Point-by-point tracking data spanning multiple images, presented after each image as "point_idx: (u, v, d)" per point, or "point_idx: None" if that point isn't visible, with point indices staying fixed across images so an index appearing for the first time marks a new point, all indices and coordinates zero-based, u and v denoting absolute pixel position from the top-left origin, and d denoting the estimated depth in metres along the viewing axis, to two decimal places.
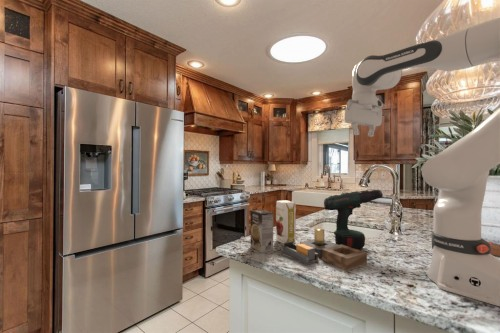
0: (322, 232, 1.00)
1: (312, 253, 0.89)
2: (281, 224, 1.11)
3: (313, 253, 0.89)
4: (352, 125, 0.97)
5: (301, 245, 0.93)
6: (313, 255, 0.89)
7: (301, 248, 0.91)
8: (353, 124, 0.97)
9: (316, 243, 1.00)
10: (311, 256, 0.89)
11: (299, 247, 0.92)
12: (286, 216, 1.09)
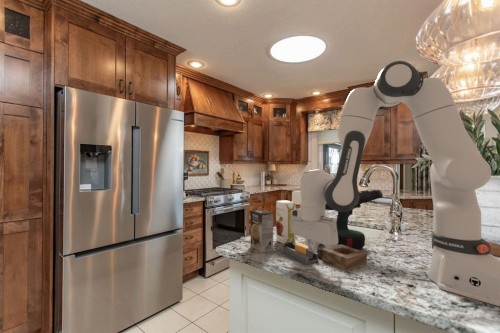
0: None
1: (310, 252, 0.90)
2: (281, 224, 1.11)
3: (311, 252, 0.90)
4: (316, 243, 0.86)
5: (299, 244, 0.93)
6: (311, 254, 0.90)
7: (299, 247, 0.92)
8: (317, 242, 0.86)
9: None
10: (310, 256, 0.89)
11: (298, 246, 0.93)
12: (286, 216, 1.09)
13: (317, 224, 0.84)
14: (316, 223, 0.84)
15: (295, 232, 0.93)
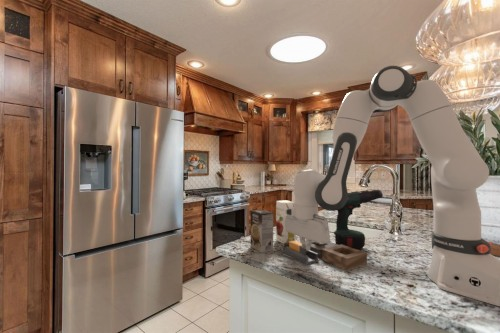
0: None
1: (304, 250, 0.93)
2: (281, 224, 1.11)
3: (305, 250, 0.93)
4: (309, 241, 0.89)
5: (293, 242, 0.96)
6: (305, 251, 0.93)
7: (293, 245, 0.95)
8: (310, 240, 0.89)
9: (316, 243, 1.00)
10: (303, 253, 0.92)
11: (291, 244, 0.96)
12: None
13: (310, 222, 0.87)
14: (309, 221, 0.87)
15: (289, 230, 0.96)
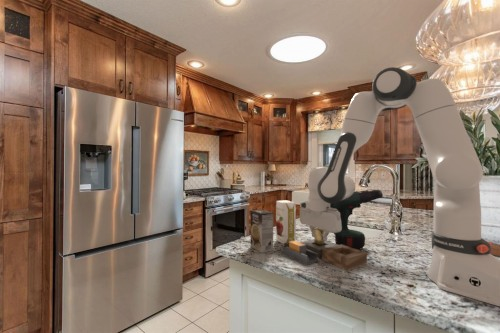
0: (322, 232, 1.00)
1: (304, 250, 0.93)
2: (281, 224, 1.11)
3: (305, 250, 0.93)
4: (326, 232, 0.97)
5: (293, 242, 0.96)
6: (305, 251, 0.93)
7: (293, 245, 0.95)
8: (327, 231, 0.97)
9: (316, 243, 1.00)
10: (303, 253, 0.92)
11: (291, 244, 0.96)
12: (286, 216, 1.09)
13: (323, 214, 0.97)
14: (322, 213, 0.97)
15: (304, 222, 1.07)
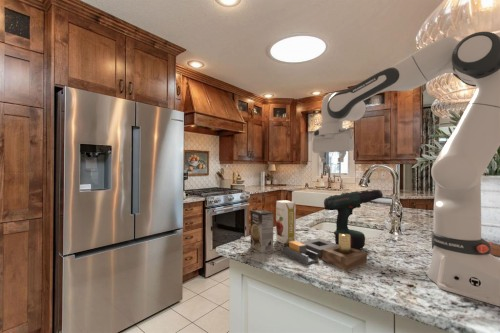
0: (348, 238, 0.88)
1: (304, 250, 0.93)
2: (281, 224, 1.11)
3: (305, 250, 0.93)
4: (343, 153, 1.01)
5: (293, 242, 0.96)
6: (305, 251, 0.93)
7: (293, 245, 0.95)
8: (344, 152, 1.01)
9: (341, 250, 0.88)
10: (303, 253, 0.92)
11: (291, 244, 0.96)
12: (286, 216, 1.09)
13: (336, 136, 1.02)
14: (335, 135, 1.03)
15: (316, 150, 1.12)
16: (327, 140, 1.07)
